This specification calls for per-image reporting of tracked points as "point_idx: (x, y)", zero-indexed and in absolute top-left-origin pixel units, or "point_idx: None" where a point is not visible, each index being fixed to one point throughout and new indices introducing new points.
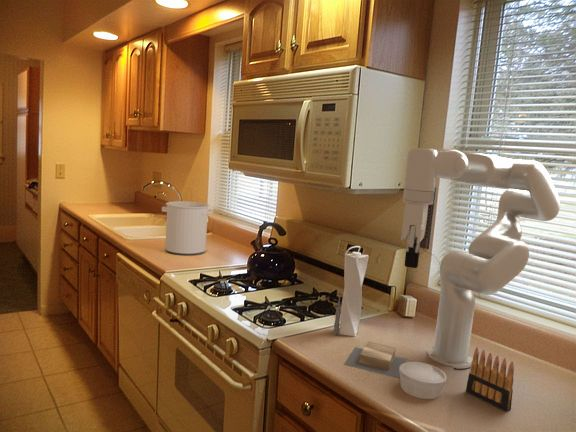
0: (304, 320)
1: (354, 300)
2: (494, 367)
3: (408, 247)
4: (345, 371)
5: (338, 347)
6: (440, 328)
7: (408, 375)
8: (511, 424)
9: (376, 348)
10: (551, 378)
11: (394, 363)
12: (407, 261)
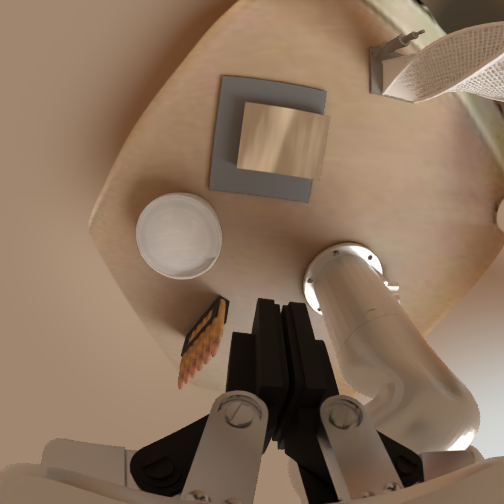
0: (419, 4)
1: (433, 73)
2: (191, 360)
3: (145, 446)
4: (203, 84)
5: (317, 58)
6: (348, 292)
7: (145, 213)
8: (156, 334)
9: (296, 136)
10: None
11: (274, 176)
12: (256, 335)
